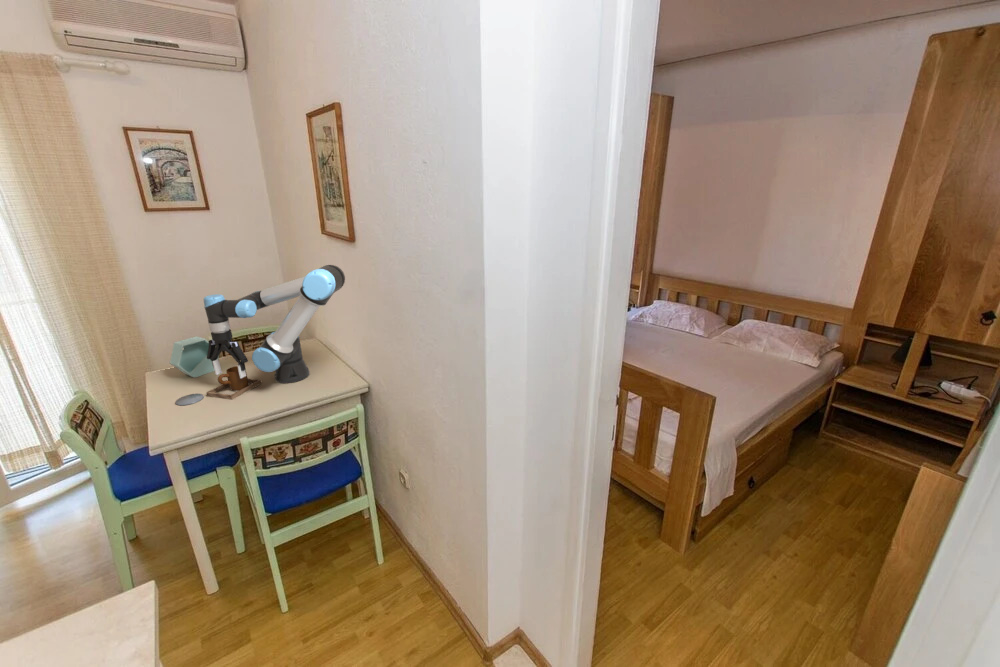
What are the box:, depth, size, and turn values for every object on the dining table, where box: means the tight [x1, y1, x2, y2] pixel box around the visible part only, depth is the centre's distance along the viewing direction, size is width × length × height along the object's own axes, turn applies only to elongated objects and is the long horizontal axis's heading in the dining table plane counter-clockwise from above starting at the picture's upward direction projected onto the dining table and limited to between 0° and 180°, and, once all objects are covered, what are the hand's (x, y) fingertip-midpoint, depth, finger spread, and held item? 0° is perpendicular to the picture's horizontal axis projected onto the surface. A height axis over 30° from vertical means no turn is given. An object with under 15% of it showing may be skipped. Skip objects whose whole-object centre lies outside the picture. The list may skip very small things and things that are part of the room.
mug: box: [217, 365, 250, 392], centre depth 195 cm, size 12×8×9 cm, turn 151°
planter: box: [169, 335, 220, 378], centre depth 213 cm, size 17×8×21 cm
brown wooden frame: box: [205, 377, 262, 400], centre depth 197 cm, size 14×17×2 cm
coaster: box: [175, 393, 204, 407], centre depth 188 cm, size 10×10×1 cm
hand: (230, 375), depth 195 cm, fingers open, 13 cm apart
